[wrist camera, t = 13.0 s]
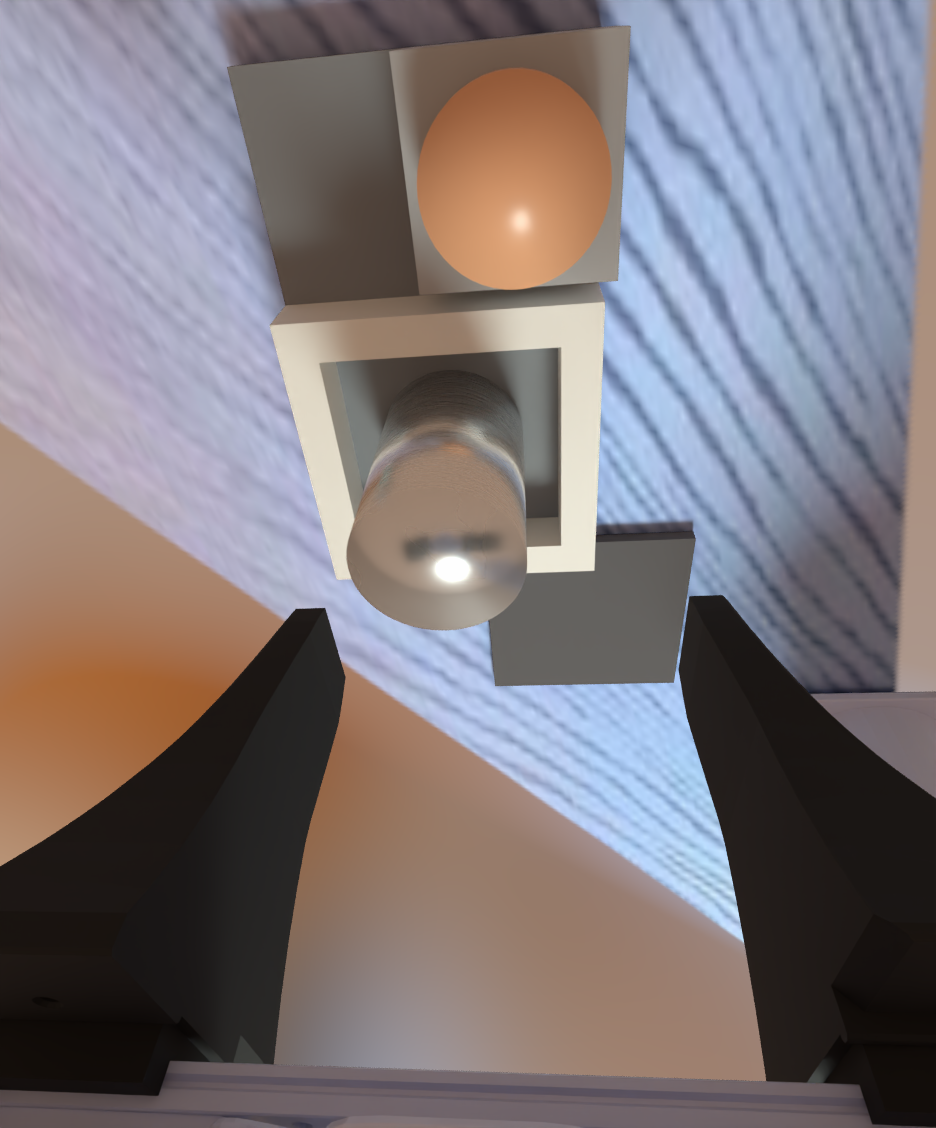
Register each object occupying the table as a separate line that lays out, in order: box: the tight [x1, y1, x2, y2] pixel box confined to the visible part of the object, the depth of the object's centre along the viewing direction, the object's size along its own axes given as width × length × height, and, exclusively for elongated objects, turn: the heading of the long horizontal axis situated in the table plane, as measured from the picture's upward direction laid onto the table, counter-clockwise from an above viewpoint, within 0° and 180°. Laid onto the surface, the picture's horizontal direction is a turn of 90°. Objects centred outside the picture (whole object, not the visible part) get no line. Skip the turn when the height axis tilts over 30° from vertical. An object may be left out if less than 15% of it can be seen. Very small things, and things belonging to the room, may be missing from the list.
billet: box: [346, 370, 527, 630], centre depth 17 cm, size 4×4×6 cm
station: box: [227, 26, 631, 580], centre depth 18 cm, size 13×8×3 cm, turn 5°
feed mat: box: [489, 532, 696, 686], centre depth 25 cm, size 7×7×1 cm
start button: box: [417, 67, 612, 290], centre depth 14 cm, size 4×4×3 cm
